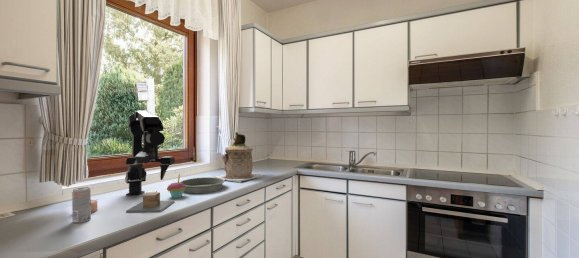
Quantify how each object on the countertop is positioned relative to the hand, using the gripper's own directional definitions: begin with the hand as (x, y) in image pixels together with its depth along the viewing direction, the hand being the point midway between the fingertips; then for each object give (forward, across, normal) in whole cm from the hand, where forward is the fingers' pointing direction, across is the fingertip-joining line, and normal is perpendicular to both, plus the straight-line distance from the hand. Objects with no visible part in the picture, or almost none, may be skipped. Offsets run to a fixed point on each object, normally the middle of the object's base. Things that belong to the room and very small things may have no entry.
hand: (150, 179), depth 114 cm
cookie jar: (+12, +28, +64) cm, 71 cm away
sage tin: (+12, -6, +12) cm, 18 cm away
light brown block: (+12, -24, -5) cm, 27 cm away
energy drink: (+12, -18, -16) cm, 27 cm away
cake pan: (+12, +12, +34) cm, 38 cm away
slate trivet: (+12, 0, 0) cm, 12 cm away
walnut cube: (+11, 0, 0) cm, 11 cm away
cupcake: (+12, +4, +17) cm, 21 cm away
